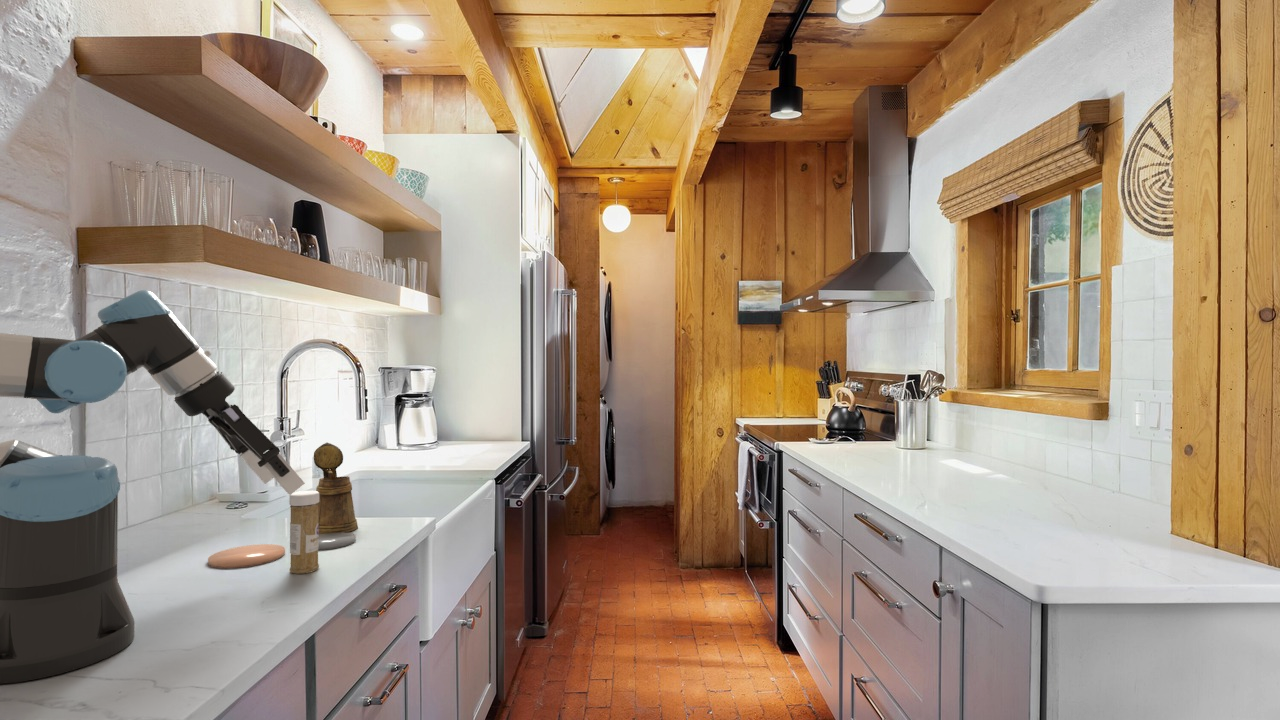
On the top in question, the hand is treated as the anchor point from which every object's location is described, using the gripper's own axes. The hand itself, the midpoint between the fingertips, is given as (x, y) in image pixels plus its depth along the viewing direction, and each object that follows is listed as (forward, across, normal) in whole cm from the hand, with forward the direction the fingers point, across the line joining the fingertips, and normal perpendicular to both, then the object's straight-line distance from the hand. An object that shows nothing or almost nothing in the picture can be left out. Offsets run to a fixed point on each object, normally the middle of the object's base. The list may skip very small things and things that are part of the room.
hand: (284, 483), depth 107 cm
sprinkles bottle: (+14, 0, +7) cm, 16 cm away
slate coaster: (+20, +15, -1) cm, 24 cm away
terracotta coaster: (+11, +15, +10) cm, 21 cm away
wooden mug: (+23, +27, -5) cm, 35 cm away
